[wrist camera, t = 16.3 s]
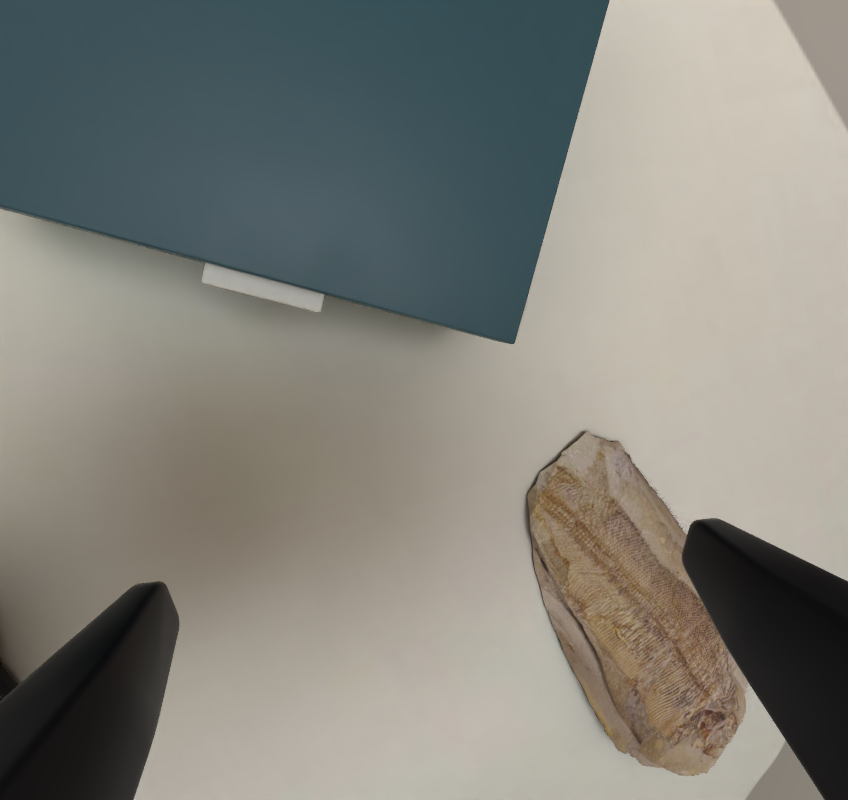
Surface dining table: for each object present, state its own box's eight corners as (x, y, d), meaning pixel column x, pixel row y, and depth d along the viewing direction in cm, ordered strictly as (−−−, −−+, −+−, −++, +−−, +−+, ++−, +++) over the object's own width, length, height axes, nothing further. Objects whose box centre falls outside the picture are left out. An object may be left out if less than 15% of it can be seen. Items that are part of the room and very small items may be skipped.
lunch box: (524, 64, 18) (616, -23, 13) (452, 346, 20) (510, 361, 15) (66, -172, 13) (-62, -460, 8) (15, 235, 15) (-119, 202, 10)
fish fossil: (456, 545, 22) (466, 556, 21) (598, 404, 24) (614, 408, 23) (674, 791, 30) (690, 808, 29) (767, 674, 32) (784, 686, 31)
